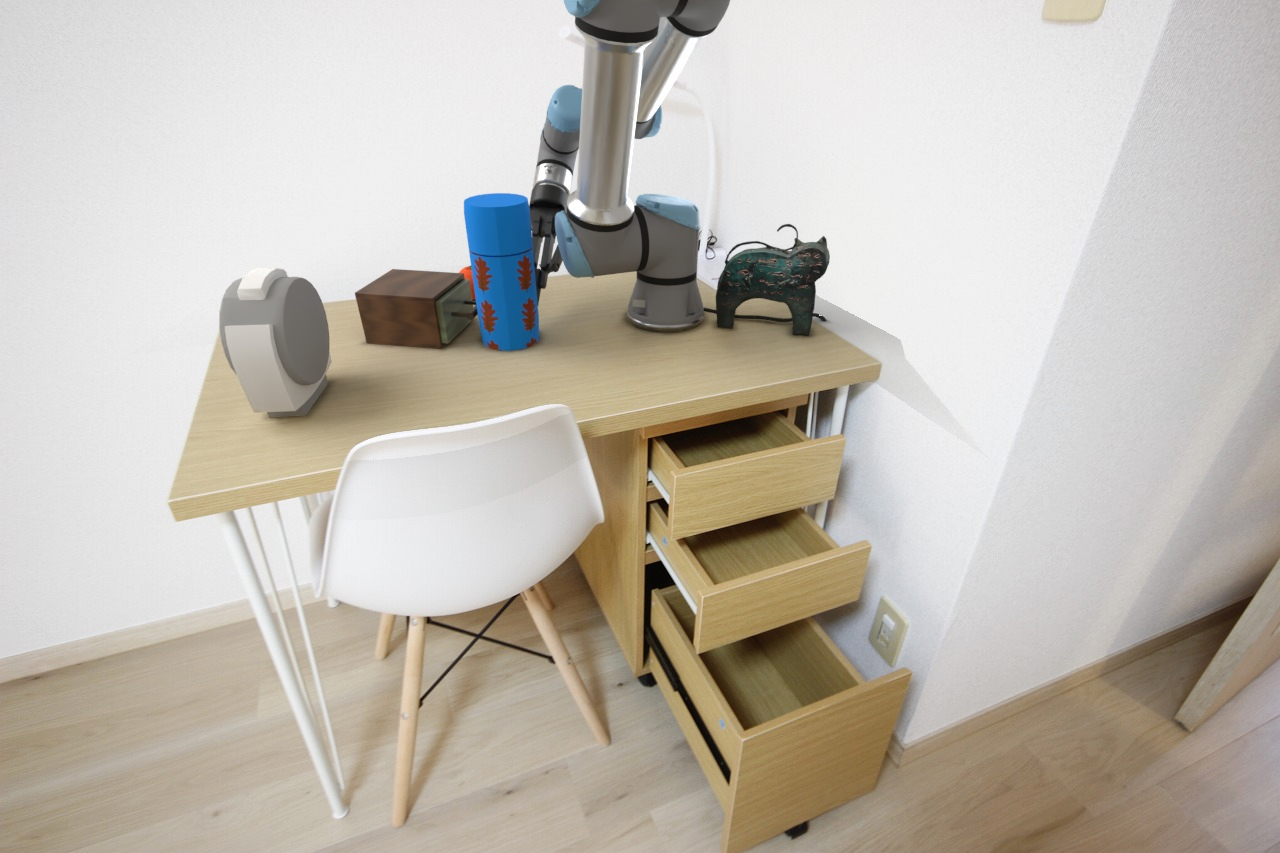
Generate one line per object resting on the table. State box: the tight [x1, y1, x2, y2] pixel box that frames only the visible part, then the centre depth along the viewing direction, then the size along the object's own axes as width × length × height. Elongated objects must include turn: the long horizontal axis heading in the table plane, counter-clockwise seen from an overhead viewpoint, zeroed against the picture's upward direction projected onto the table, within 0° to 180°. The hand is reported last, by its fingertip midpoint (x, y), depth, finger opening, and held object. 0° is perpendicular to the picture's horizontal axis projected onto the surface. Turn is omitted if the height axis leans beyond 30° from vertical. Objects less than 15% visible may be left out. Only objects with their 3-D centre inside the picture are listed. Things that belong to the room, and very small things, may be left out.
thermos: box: [463, 192, 540, 352], centre depth 113 cm, size 11×11×25 cm
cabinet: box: [354, 268, 465, 350], centre depth 120 cm, size 15×14×10 cm
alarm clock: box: [218, 267, 332, 418], centre depth 95 cm, size 18×8×20 cm, turn 5°
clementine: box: [458, 265, 476, 301], centre depth 136 cm, size 8×7×7 cm
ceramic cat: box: [715, 223, 831, 337], centre depth 119 cm, size 20×6×20 cm, turn 77°
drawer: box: [435, 279, 478, 344], centre depth 120 cm, size 18×12×8 cm
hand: (532, 302), depth 123 cm, fingers closed
